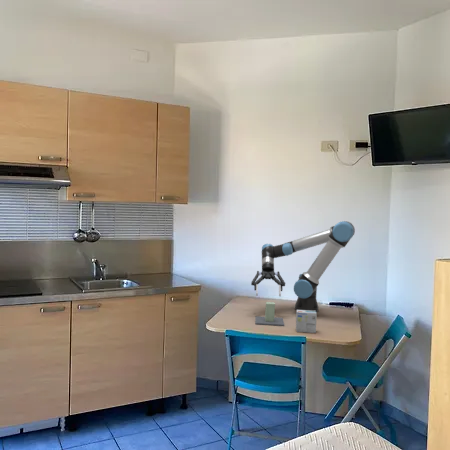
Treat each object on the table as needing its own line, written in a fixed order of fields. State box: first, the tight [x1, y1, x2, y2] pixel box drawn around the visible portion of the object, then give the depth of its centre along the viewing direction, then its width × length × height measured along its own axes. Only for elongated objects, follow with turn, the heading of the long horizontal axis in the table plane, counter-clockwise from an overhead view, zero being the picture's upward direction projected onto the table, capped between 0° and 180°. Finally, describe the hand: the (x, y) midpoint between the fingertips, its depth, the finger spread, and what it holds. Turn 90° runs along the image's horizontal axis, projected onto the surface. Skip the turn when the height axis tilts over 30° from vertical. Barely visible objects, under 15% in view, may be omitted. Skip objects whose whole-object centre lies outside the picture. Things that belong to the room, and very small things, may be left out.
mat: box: [254, 315, 285, 327], centre depth 267 cm, size 16×16×1 cm
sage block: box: [264, 301, 276, 322], centre depth 267 cm, size 5×5×10 cm
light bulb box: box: [295, 310, 318, 334], centre depth 250 cm, size 11×7×11 cm, turn 84°
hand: (268, 295), depth 275 cm, fingers open, 13 cm apart
